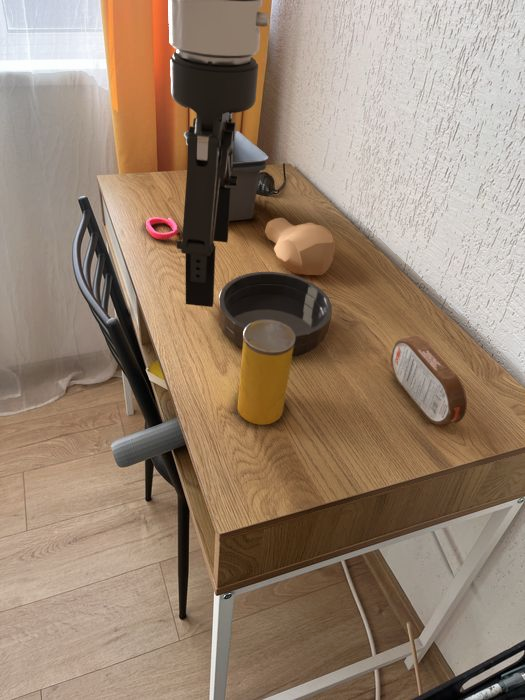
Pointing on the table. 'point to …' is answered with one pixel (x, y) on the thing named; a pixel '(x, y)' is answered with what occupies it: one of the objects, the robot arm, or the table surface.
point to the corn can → (264, 370)
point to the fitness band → (161, 235)
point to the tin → (428, 381)
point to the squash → (301, 246)
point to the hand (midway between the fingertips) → (208, 269)
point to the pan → (275, 307)
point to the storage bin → (244, 176)
